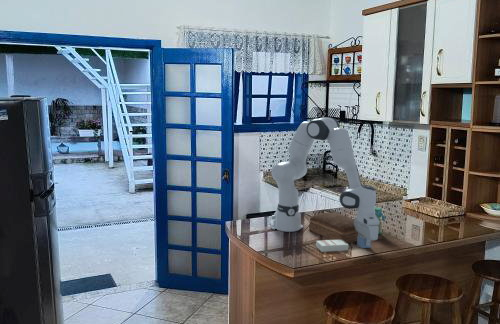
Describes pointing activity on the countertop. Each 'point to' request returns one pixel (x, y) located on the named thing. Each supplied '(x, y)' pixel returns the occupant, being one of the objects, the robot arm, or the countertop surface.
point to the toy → (378, 214)
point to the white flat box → (331, 245)
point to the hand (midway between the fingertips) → (364, 243)
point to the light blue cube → (362, 242)
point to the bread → (334, 226)
